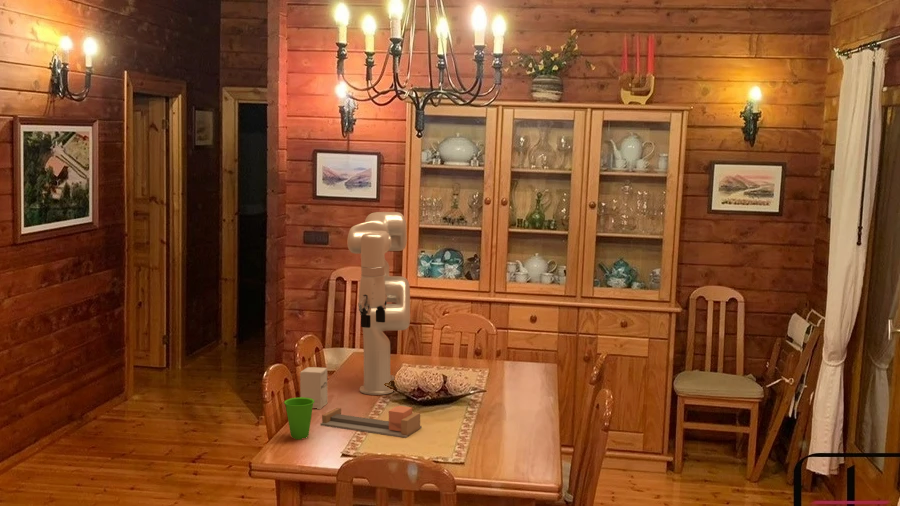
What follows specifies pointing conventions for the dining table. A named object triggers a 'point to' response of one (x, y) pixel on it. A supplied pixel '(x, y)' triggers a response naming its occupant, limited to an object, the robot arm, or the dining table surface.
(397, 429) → the orange cube
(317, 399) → the supplement box
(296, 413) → the cup
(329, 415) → the track
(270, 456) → the dining table surface
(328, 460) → the dining table surface
